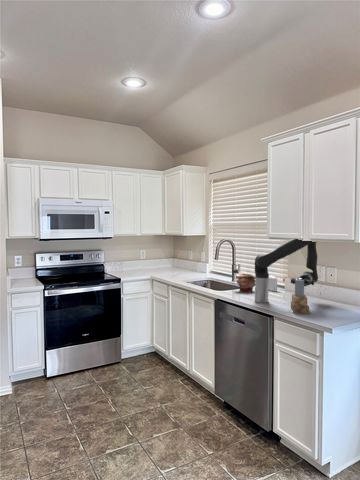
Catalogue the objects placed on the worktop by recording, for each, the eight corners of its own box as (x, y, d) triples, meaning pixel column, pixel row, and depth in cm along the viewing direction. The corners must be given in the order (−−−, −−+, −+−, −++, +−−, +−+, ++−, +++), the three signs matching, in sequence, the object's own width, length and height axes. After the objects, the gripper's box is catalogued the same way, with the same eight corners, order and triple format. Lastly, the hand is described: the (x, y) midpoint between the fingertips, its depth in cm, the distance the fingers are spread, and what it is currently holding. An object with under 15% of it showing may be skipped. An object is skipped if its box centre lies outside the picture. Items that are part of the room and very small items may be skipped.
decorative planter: (252, 289, 291) (253, 273, 291) (262, 291, 280) (262, 274, 280) (233, 291, 283) (233, 274, 282) (241, 293, 272) (242, 276, 271)
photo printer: (265, 289, 291) (265, 275, 290) (268, 289, 293) (269, 274, 292) (274, 291, 282) (274, 276, 281) (277, 291, 284) (278, 276, 283)
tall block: (294, 296, 217) (295, 280, 217) (296, 295, 221) (296, 279, 220) (302, 297, 215) (302, 281, 214) (303, 295, 218) (304, 280, 218)
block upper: (293, 305, 213) (293, 297, 213) (291, 301, 225) (291, 293, 224) (307, 306, 211) (307, 298, 211) (304, 302, 223) (304, 294, 223)
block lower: (293, 314, 212) (293, 306, 212) (290, 308, 226) (290, 301, 225) (309, 315, 210) (309, 306, 210) (305, 309, 224) (305, 301, 224)
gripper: (294, 273, 237) (289, 276, 223) (316, 275, 230) (312, 278, 216) (294, 284, 238) (288, 287, 224) (316, 286, 230) (311, 290, 216)
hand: (300, 283), depth 220 cm, fingers open, 8 cm apart
